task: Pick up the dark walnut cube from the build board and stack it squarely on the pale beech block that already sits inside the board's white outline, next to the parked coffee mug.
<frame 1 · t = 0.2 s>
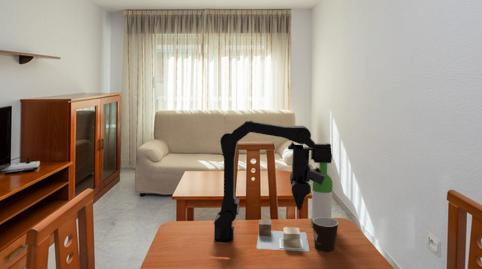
hand: (298, 205, 126), 14 cm above the table, fingers open, 9 cm apart
wine bottle: (320, 227, 142), on the table
coffee mug: (324, 247, 124), on the table
build board: (282, 241, 129), on the table
walnut cube: (265, 233, 134), point 1 cm above the table, touching build board
beech block: (291, 244, 125), point 1 cm above the table, touching build board
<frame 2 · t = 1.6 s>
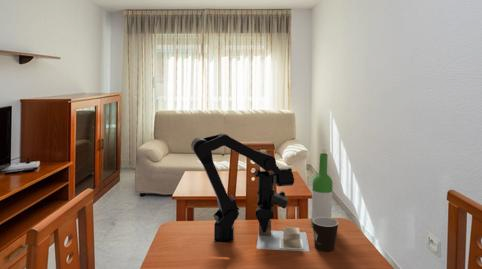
hand: (264, 227, 134), 3 cm above the table, fingers open, 9 cm apart
nothing on the table moved.
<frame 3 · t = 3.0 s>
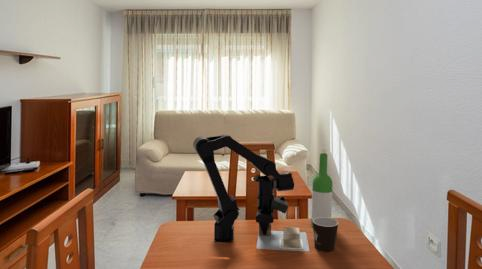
hand: (265, 231, 134), 1 cm above the table, fingers closed on walnut cube, 4 cm apart
walnut cube: (265, 233, 134), point 1 cm above the table, touching build board, gripper
everything else where it was.
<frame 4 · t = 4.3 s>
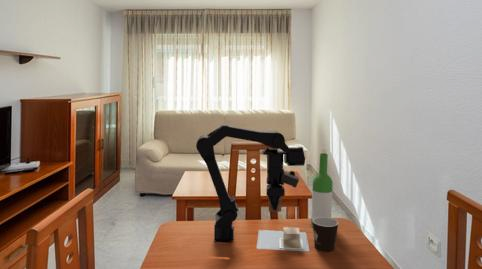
hand: (274, 207, 130), 12 cm above the table, fingers closed on walnut cube, 4 cm apart
walnut cube: (274, 209, 130), point 11 cm above the table, touching gripper
everything else where it was.
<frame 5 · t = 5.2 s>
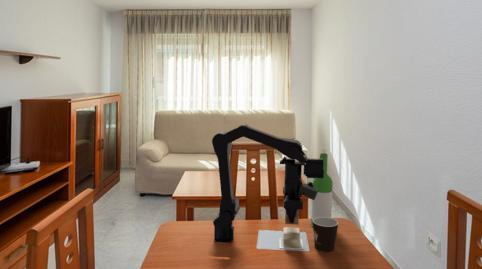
hand: (291, 220, 124), 9 cm above the table, fingers closed on walnut cube, 4 cm apart
walnut cube: (291, 221, 124), point 9 cm above the table, touching gripper
everything else where it was.
when the fingers open (7 cm above the table, at t = 5.8 s): walnut cube drops 1 cm, resting on beech block.
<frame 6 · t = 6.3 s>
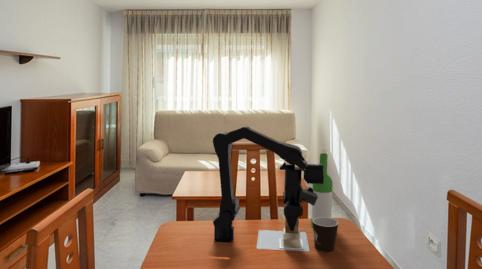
hand: (291, 225, 124), 7 cm above the table, fingers open, 9 cm apart
walnut cube: (291, 230, 125), point 6 cm above the table, touching beech block
beech block: (291, 244, 125), point 1 cm above the table, touching build board, walnut cube
everything else where it was.
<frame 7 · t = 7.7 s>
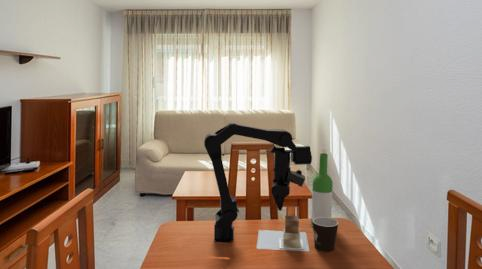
hand: (280, 206, 130), 12 cm above the table, fingers open, 9 cm apart
nothing on the table moved.
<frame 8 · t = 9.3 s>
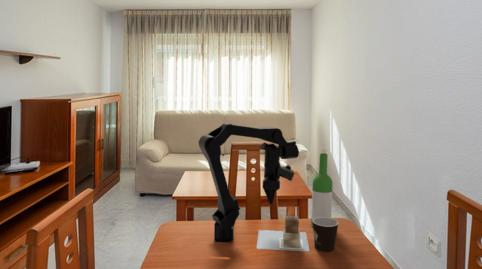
hand: (271, 200, 136), 13 cm above the table, fingers open, 9 cm apart
nothing on the table moved.
at the end: walnut cube 0.0 cm off-centre on the beech block, point 5.0 cm above the beech block's base; walnut cube tilted 0°; the gripper is holding nothing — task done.
